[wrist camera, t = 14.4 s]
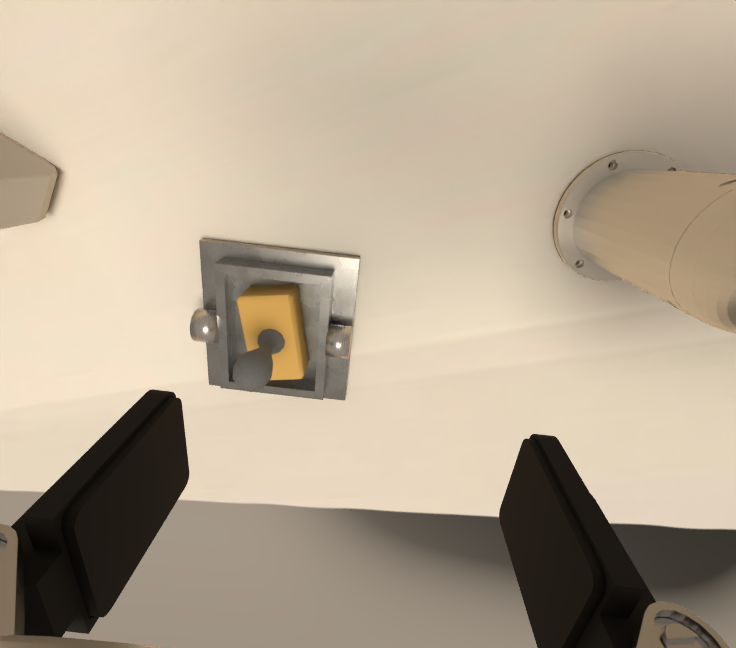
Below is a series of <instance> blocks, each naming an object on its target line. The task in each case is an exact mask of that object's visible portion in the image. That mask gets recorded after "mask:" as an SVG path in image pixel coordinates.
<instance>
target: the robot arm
mask: <svg viewBox="0 0 736 648" xmlns="http://www.w3.org/2000/svg"><path fill="white" fill-rule="evenodd" d="M609 163H610V167H609V168H608V165H609ZM564 211H566V214H565V215H563V213H564ZM554 240H555V244H556V248H557V251H558V253H559V254H560V256H561V258H562V260H563V261H564V262H565V263H566V264H567V265H568V266H569V267H570V268H571V269H573V270H574V271H575V272H577V273H579V274H580V275H582V276H584V277H587V278H590V279H593V280H598V281H619V280H623V279H624V280H625V281H627V282H629V283H631V284H633V285H635V286H637V287H639V288H640V289H642V290H644V291H646V292H648V293H650V294H652V295H653V296H655V297H657V298H659V299H661V300H663V301H665V302H666V303H668V304H670V305H672V306H674V307H676V308H678V309H679V310H681V311H683V312H685V313H687V314H689V315H691V316H693V317H695V318H697V319H699V320H701V321H702V322H704V323H706V324H709V325H711V326H713V327H716V328H718V329H721V330H725V331H728V332H732V333H736V175H731V174H715V173H699V172H683V171H682V169H681V168H680V167H679V166H678V165H677V164H676V163H675V162H674V161H673V160H671V159H670V158H668V157H666V156H664V155H662V154H659V153H655V152H650V151H626V152H620V153H617V154H613V155H610V156H608V157H606V158H603V159H601V160H599V161H597V162H596V163H594V164H593V165H591V166H590V167H588V168H587V169H585V170H584V171H583V172H582V173H581V174H580V175H579V176H578V177H577V178H576V179H575V180H574V181H573V182H572V184H571V185H570V186H569V188H568V189H567V190H566V192H565V194H564V195H563V197H562V199H561V201H560V203H559V206H558V209H557V211H556V214H555V220H554ZM577 261H578V263H577V264H575V263H576V262H577ZM188 478H189V466H188V457H187V447H186V438H185V429H184V420H183V411H182V403H181V400H180V399H179V398H176V395H175V394H174V393H173V392H168V391H160V390H149V391H148V392H147V393H146V394H145V395H144V396H143V397H142V398H141V399H140V400H138V401H137V402H136V403H135V404H134V405H133V406H132V407H131V408H130V409H129V410H128V411H127V412H126V413H125V414H124V415H123V416H122V417H121V418H120V419H119V420H118V421H117V422H116V423H115V424H114V425H113V426H112V427H111V428H110V429H109V430H108V431H107V432H106V433H105V434H104V435H103V436H102V437H101V438H100V439H99V440H98V441H97V442H96V443H95V444H94V445H93V446H92V447H91V448H90V449H89V450H88V451H87V452H86V453H85V454H84V455H83V456H82V457H81V458H80V459H79V460H78V461H77V462H76V463H75V464H74V465H73V466H72V467H71V468H70V469H69V470H68V471H67V472H66V473H65V474H64V475H63V476H62V477H61V478H60V479H59V480H58V481H57V482H56V483H55V484H54V485H53V486H52V487H51V488H50V489H48V490H47V491H46V492H45V493H44V494H43V496H41V497H40V499H38V500H37V501H36V502H35V503H34V504H33V505H32V506H31V507H30V508H29V509H28V510H27V511H26V512H25V513H24V514H23V515H22V516H21V517H20V518H19V519H18V520H17V521H16V522H15V523H14V524H13V525H12V526H11V527H10V526H8V525H3V524H0V648H163V647H154V646H146V645H136V644H128V643H117V642H106V641H95V640H84V639H72V638H62V636H63V634H64V633H65V631H69V632H78V633H87V634H89V632H90V631H91V629H92V627H93V626H94V624H95V623H96V621H97V619H98V618H99V617H104V616H105V615H107V613H108V612H109V611H110V609H111V608H112V607H113V605H114V603H115V602H116V600H117V598H118V597H119V595H120V593H121V592H122V590H123V589H124V587H125V585H126V584H127V582H128V580H129V579H130V577H131V575H132V574H133V572H134V570H135V569H136V567H137V566H138V564H139V562H140V560H141V559H142V557H143V556H144V554H145V552H146V551H147V549H148V547H149V546H150V544H151V543H152V541H153V539H154V538H155V536H156V534H157V533H158V531H159V529H160V528H161V526H162V524H163V523H164V521H165V520H166V518H167V516H168V515H169V513H170V511H171V510H172V508H173V506H174V505H175V503H176V501H177V500H178V498H179V497H180V495H181V493H182V492H183V490H184V488H185V487H186V485H187V482H188ZM499 518H500V524H501V527H502V530H503V534H504V537H505V541H506V544H507V547H508V551H509V554H510V557H511V561H512V564H513V567H514V571H515V574H516V577H517V581H518V583H519V587H520V590H521V594H522V597H523V600H524V604H525V607H526V610H527V614H528V617H529V620H530V624H531V627H532V630H533V633H534V637H535V640H536V644H537V647H538V648H729V647H728V646H727V644H726V643H725V641H724V640H723V639H722V638H721V636H720V635H718V633H717V632H716V631H715V630H714V629H713V628H711V627H710V626H709V625H708V624H707V623H706V622H705V621H703V620H702V619H701V618H699V617H698V616H697V615H695V614H694V613H692V612H690V611H688V610H687V609H684V608H683V607H681V606H678V605H675V604H672V603H669V602H656V601H655V599H654V598H653V596H652V594H651V593H650V591H649V589H648V588H647V586H646V584H645V583H644V581H643V579H642V578H641V576H640V575H639V573H638V571H637V569H636V568H635V566H634V564H633V563H632V561H631V559H630V558H629V556H628V554H627V553H626V551H625V550H624V547H623V546H622V544H621V542H620V541H619V539H618V537H617V536H616V534H615V532H614V531H613V529H612V527H611V526H610V524H609V522H608V520H607V519H606V517H605V515H604V514H603V512H602V510H601V509H600V507H599V505H598V504H597V502H596V500H595V499H594V498H593V496H592V495H591V494H590V493H589V491H588V489H587V488H586V486H585V484H584V483H583V481H582V479H581V477H580V476H579V474H578V472H577V471H576V469H575V467H574V466H573V464H572V462H571V461H570V459H569V457H568V455H567V454H566V452H565V450H564V449H563V447H562V445H561V444H560V442H559V440H558V439H557V438H556V437H554V436H547V435H539V434H532V435H531V436H530V438H529V439H524V440H523V442H522V445H521V448H520V451H519V454H518V457H517V460H516V463H515V466H514V469H513V472H512V475H511V478H510V481H509V484H508V487H507V490H506V493H505V496H504V499H503V502H502V504H501V507H500V513H499Z"/></svg>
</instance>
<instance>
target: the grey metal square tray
mask: <svg viewBox="0 0 736 648" xmlns="http://www.w3.org/2000/svg"><path fill="white" fill-rule="evenodd" d="M199 243H200V257H201V272H202V287H203V302H204V309H197V310H196V311H195V312H194V314H193V316H192V319H191V323H190V334H191V337H192V339H193V340H194V341H200V342H206V346H207V361H208V375H209V385H217V386H221V388H226V389H235V390H242V389H240V388H239V387H238V386H237V385H236V383H235V381H234V380H233V367H234V364H235V363H236V362H237V360H238V359H239V358H240V357H241V356H242V355H243V354H244V353H246V352H248V351H247V347H246V342H245V337H244V333H243V328H242V323H241V319H240V314H239V309H238V305H237V299H238V298H239V296H240V295H241V294H242V293H243V292H244V291H246V290H247V289H248V288H249V287H250V286H268V285H287V284H296V285H297V287H298V290H299V297H300V303H301V310H302V317H303V324H304V331H305V338H306V345H307V352H308V359H309V364H308V366H307V369H306V372H305V374H304V376H303V377H302V378H301V379H288V380H269V382H268V383H267V384H266V385H265V386H264V387H263V388H262V389H260V390H257V391H253V392H260V393H269V394H277V395H286V396H295V397H303V398H312V399H320V400H323V398H328V399H337V400H345V397H346V389H347V380H348V370H349V360H350V350H351V340H352V331H353V321H354V311H355V301H356V292H357V282H358V272H359V262H360V257H359V256H351V255H342V254H334V253H325V252H317V251H308V250H300V249H292V248H283V247H275V246H266V245H258V244H249V243H241V242H232V241H224V240H215V239H207V238H204V239H201V240H199ZM243 391H244V390H243Z"/></svg>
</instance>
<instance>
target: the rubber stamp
mask: <svg viewBox="0 0 736 648" xmlns="http://www.w3.org/2000/svg"><path fill="white" fill-rule="evenodd" d="M237 305H238V309H239V314H240V319H241V323H242V328H243V333H244V337H245V342H246V347H247V351H248V352H246V353H244V354H243V355H242V356H241V357H240V358H239V359H238V360H237V362H236V363H235V364H234V367H233V380H234V381H235V383H236V385H237V386H238V387H239V388H240V389H242V390H244V391H249V392H253V391H257V390H260V389H262V388H263V387H264V386H265V385H266V384H267V383H268V382H269V380H288V379H301V378H302V377H303V376H304V374H305V372H306V369H307V366H308V364H309V359H308V352H307V345H306V338H305V331H304V324H303V317H302V310H301V303H300V297H299V290H298V287H297V285H296V284H287V285H268V286H250V287H249V288H248V289H247V290H246V291H244V292H243V293H242V294H241V295H240V296H239V298H238V299H237Z"/></svg>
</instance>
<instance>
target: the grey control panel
mask: <svg viewBox="0 0 736 648" xmlns="http://www.w3.org/2000/svg"><path fill="white" fill-rule="evenodd" d="M57 175H58V174H57V171H56V168H55V167H54V166H53V165H52V164H50V163H49V162H48V161H46V160H45V159H43V158H42V157H40V156H38V155H37V154H35V153H33V152H31V151H30V150H28V149H26V148H25V147H23V146H21V145H20V144H18V143H16V142H15V141H13V140H11V139H10V138H8V137H6V136H4V135H3V134H1V133H0V229H4V228H9V227H14V226H19V225H24V224H29V223H34V222H38V221H40V220H42V219H44V218H45V217H46V214H47V210H48V207H49V203H50V200H51V196H52V193H53V189H54V185H55V182H56V178H57Z"/></svg>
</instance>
